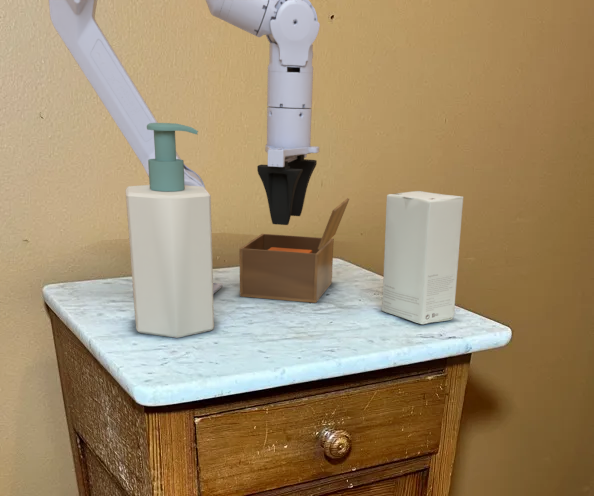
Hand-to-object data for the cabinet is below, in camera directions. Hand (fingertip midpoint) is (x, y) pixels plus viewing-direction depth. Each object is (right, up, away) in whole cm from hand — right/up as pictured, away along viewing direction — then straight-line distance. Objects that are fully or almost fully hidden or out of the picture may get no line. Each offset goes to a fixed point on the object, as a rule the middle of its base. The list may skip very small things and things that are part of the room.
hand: (286, 219), depth 105 cm
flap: (+6, 0, 0) cm, 6 cm away
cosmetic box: (+17, -14, -4) cm, 23 cm away
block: (0, -8, +5) cm, 9 cm away
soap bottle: (-14, -17, -11) cm, 25 cm away
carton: (0, -8, +6) cm, 10 cm away
